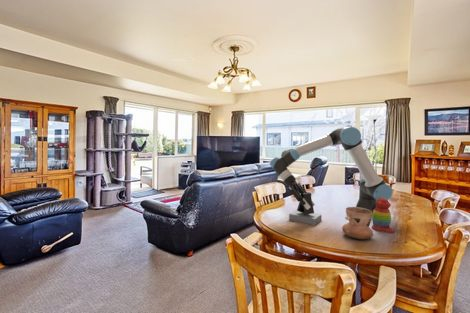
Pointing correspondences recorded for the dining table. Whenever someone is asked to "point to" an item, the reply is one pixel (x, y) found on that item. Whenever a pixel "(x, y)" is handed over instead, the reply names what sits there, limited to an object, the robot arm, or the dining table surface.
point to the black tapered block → (308, 199)
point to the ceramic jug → (358, 223)
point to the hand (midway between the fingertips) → (311, 207)
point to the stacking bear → (382, 216)
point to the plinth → (305, 217)
